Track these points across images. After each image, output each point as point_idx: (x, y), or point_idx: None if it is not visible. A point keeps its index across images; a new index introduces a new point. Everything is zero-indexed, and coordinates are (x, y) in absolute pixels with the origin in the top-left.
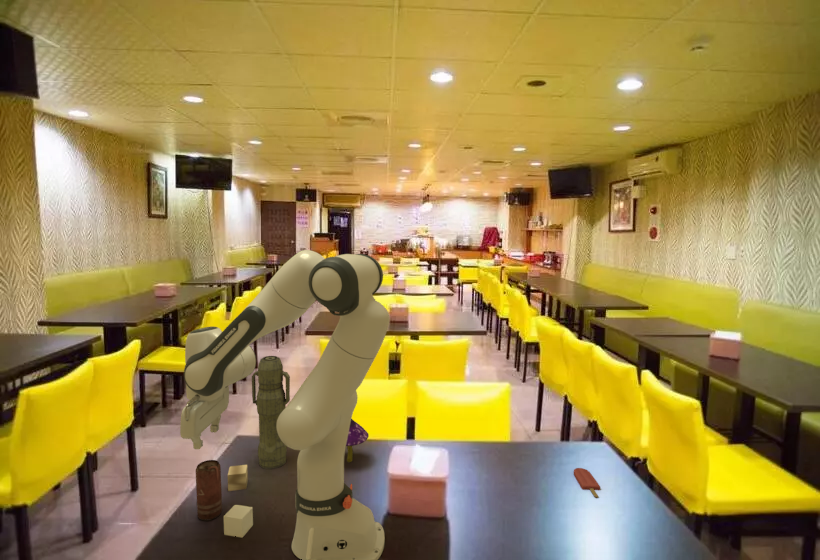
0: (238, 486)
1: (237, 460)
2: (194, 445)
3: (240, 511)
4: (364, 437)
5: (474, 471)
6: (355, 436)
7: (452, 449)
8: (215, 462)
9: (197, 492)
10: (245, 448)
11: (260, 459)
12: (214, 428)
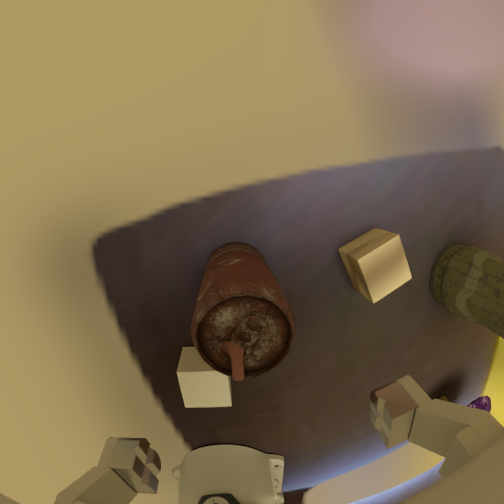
0: (351, 274)
1: (448, 186)
2: (106, 456)
3: (207, 393)
4: None
5: (394, 493)
6: None
7: (441, 461)
8: (282, 344)
9: (202, 282)
10: (481, 177)
11: (446, 266)
12: (381, 429)
